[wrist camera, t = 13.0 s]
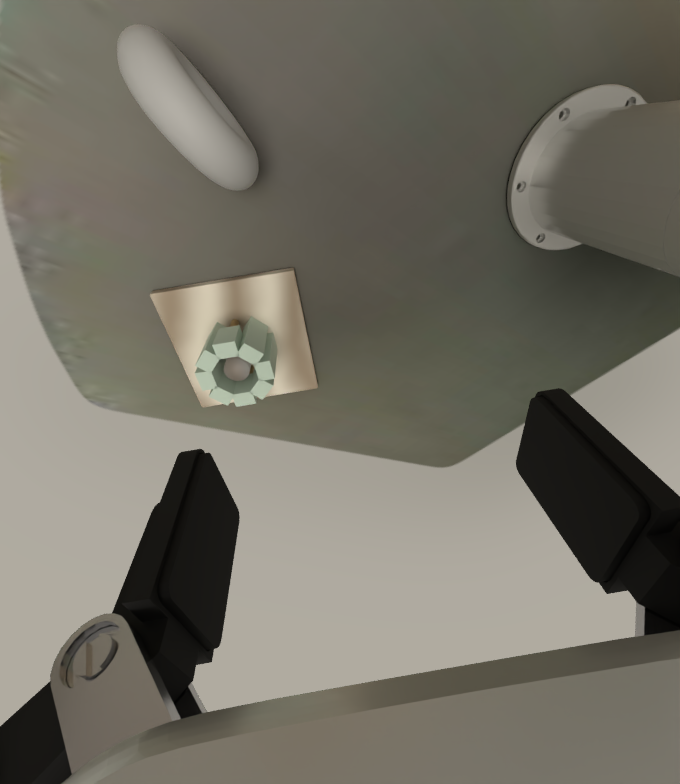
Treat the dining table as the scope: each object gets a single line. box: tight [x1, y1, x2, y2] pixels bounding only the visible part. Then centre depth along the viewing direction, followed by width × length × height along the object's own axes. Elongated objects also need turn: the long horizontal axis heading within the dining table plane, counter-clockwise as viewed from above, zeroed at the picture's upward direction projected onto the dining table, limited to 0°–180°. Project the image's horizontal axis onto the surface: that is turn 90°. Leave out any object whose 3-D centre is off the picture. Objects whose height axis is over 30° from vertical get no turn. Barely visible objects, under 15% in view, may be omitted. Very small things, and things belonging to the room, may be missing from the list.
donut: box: [117, 24, 259, 191], centre depth 23 cm, size 10×4×10 cm, turn 38°
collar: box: [195, 316, 277, 407], centre depth 35 cm, size 7×7×6 cm
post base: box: [150, 267, 318, 407], centre depth 36 cm, size 14×14×6 cm
